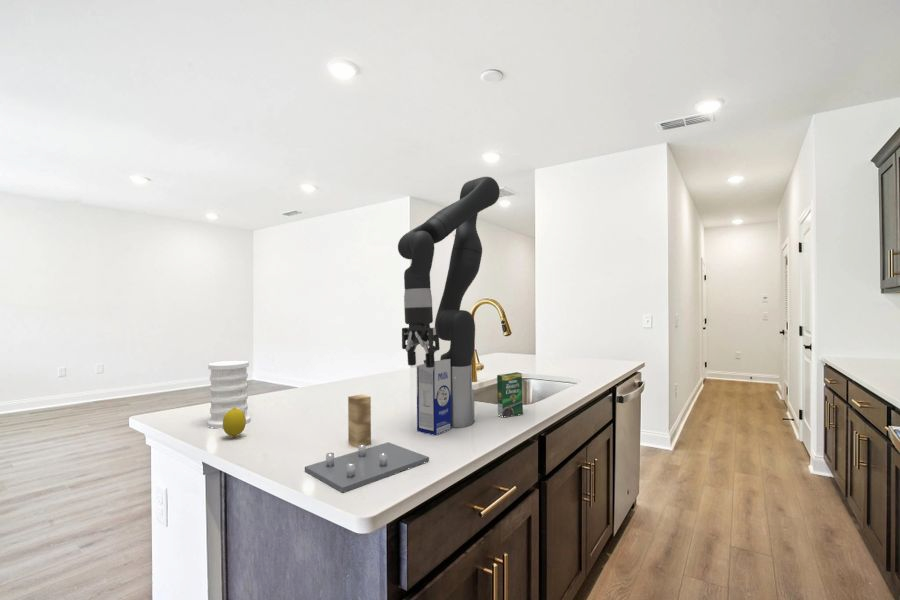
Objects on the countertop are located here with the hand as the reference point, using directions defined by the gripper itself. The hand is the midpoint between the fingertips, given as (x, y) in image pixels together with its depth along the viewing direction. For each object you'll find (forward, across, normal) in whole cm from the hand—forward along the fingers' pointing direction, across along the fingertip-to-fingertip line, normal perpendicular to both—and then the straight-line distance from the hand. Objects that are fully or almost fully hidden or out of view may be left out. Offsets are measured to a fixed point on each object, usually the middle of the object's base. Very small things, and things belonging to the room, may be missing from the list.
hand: (420, 366), depth 117 cm
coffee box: (+19, -1, -32) cm, 38 cm away
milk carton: (+19, +2, -5) cm, 19 cm away
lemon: (+17, +31, +40) cm, 53 cm away
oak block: (+18, +4, +17) cm, 25 cm away
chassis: (+19, -10, +22) cm, 30 cm away
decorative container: (+16, +47, +38) cm, 63 cm away
